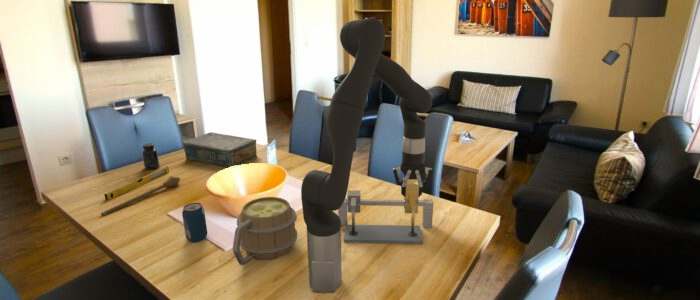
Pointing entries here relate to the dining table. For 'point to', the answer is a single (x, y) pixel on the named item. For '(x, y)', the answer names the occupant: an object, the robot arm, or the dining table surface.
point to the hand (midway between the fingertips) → (411, 195)
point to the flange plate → (383, 234)
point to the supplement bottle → (150, 157)
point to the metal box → (220, 149)
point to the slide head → (411, 199)
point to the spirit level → (135, 183)
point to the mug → (265, 229)
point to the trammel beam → (355, 204)
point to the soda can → (194, 222)
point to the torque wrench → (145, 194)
